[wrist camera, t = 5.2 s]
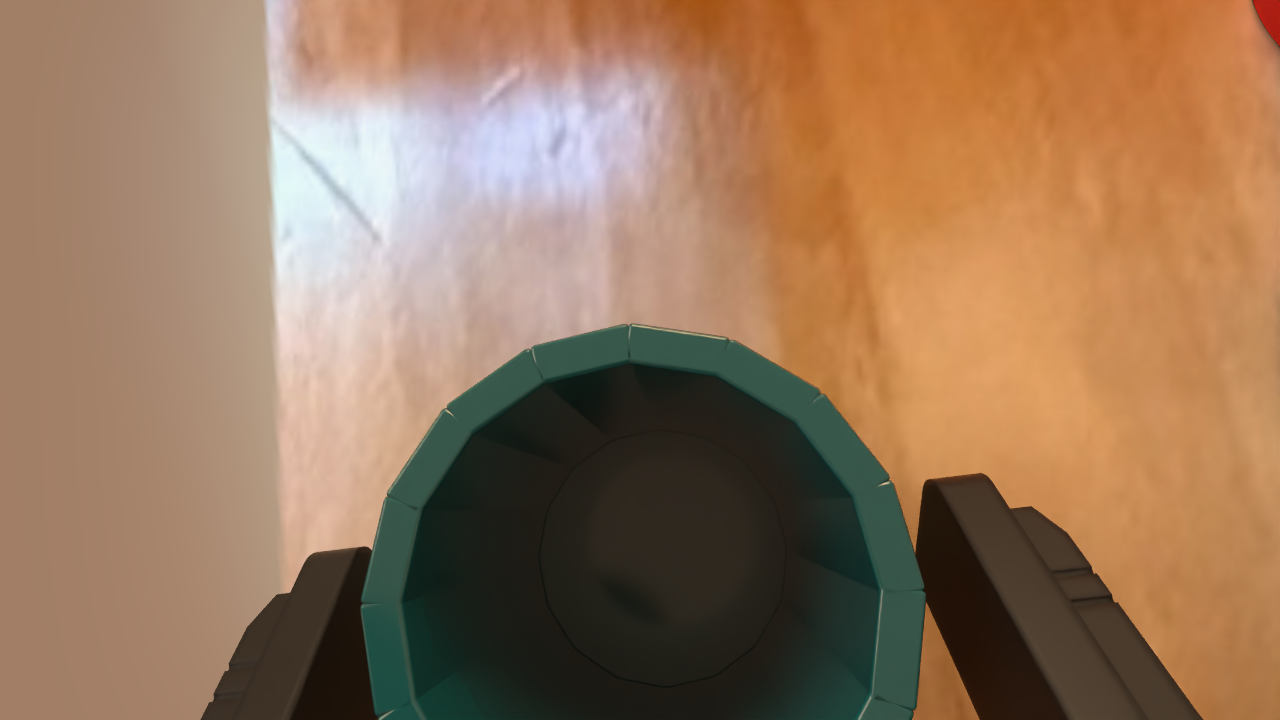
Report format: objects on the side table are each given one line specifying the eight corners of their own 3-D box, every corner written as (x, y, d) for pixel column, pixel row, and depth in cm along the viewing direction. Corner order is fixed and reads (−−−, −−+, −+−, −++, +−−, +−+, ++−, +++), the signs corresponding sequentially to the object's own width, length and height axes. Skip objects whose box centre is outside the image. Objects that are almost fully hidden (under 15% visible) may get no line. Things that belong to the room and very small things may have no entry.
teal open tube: (554, 731, 15) (408, 977, 7) (501, 447, 16) (329, 393, 9) (839, 666, 15) (1005, 844, 7) (762, 385, 16) (830, 272, 8)
